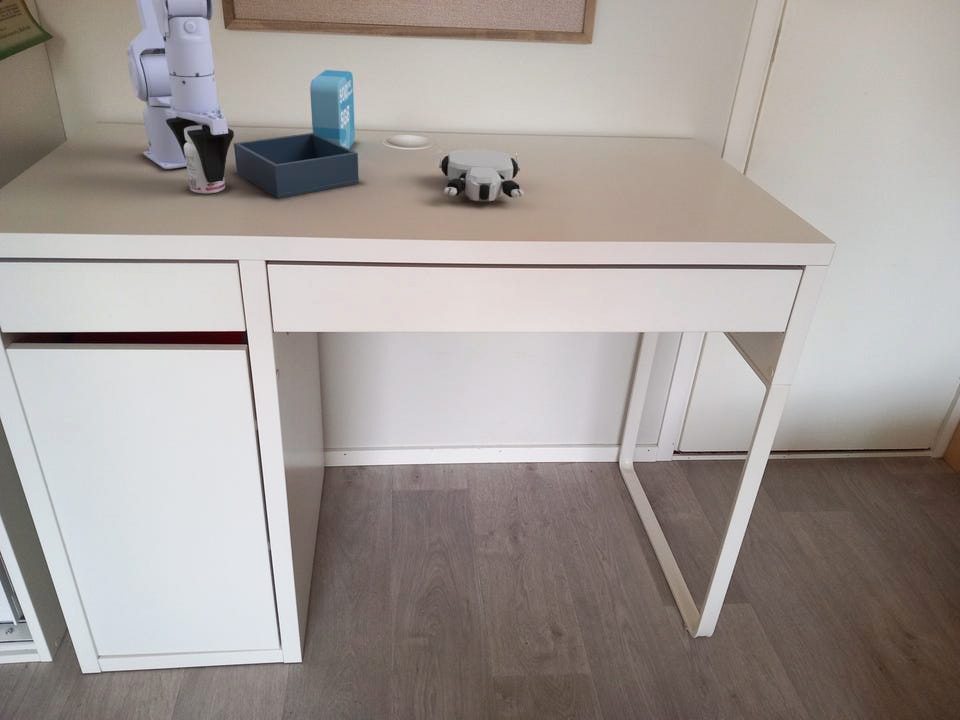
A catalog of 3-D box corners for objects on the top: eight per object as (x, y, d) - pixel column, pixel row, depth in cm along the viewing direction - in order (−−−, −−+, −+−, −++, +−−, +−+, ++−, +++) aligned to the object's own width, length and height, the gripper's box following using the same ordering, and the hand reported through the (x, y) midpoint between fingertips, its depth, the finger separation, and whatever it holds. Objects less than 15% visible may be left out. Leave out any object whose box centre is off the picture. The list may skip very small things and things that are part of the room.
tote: (236, 173, 111) (233, 143, 108) (314, 161, 118) (313, 132, 116) (277, 198, 102) (274, 165, 100) (358, 183, 110) (357, 152, 108)
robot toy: (526, 215, 104) (515, 175, 117) (529, 184, 102) (517, 147, 114) (440, 212, 103) (438, 173, 116) (441, 181, 101) (438, 144, 113)
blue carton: (341, 160, 120) (338, 83, 113) (313, 158, 120) (309, 81, 114) (355, 141, 130) (353, 69, 124) (329, 139, 130) (326, 68, 124)
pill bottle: (228, 184, 106) (220, 124, 102) (222, 194, 102) (214, 133, 98) (194, 183, 106) (185, 124, 102) (186, 194, 102) (177, 132, 97)
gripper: (141, 65, 98) (158, 166, 105) (182, 85, 89) (198, 194, 96) (192, 62, 103) (206, 159, 109) (237, 81, 93) (249, 185, 100)
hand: (206, 175), depth 103 cm, fingers open, 6 cm apart
